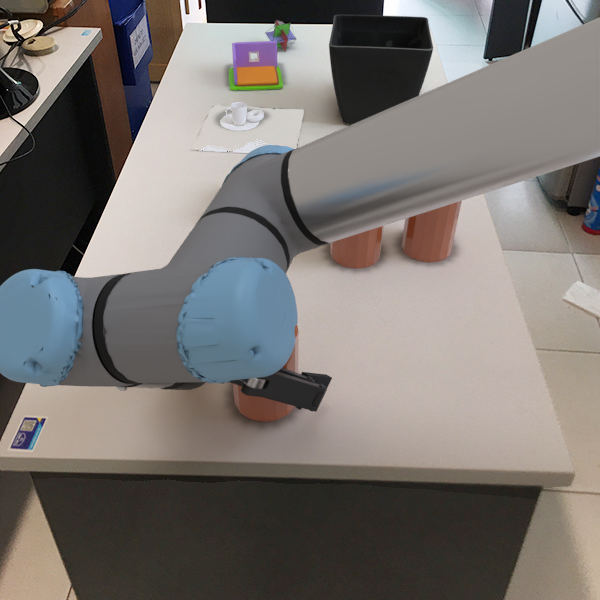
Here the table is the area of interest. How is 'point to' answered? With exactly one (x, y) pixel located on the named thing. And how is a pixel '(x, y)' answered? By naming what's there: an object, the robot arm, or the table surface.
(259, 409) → the loose cup
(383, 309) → the table surface
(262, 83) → the miniature room corner
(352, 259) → the group cup
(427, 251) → the group cup
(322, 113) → the table surface
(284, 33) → the geometric puzzle
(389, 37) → the flower pot
